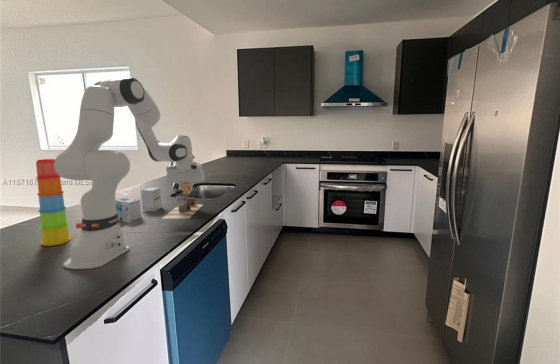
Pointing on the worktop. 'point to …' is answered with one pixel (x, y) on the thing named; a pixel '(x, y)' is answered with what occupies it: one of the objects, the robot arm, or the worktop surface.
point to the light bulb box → (128, 209)
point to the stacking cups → (51, 204)
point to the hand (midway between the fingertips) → (186, 189)
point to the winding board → (182, 215)
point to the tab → (186, 187)
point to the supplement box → (151, 199)
